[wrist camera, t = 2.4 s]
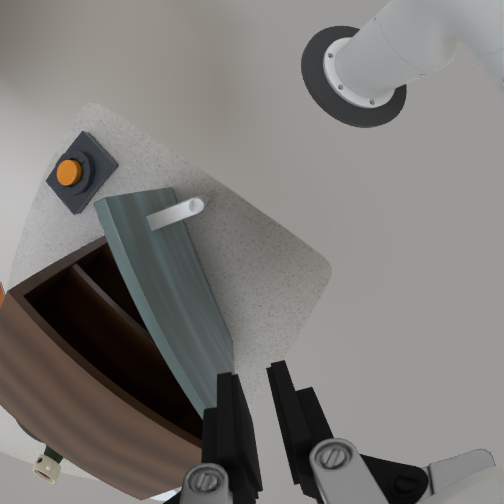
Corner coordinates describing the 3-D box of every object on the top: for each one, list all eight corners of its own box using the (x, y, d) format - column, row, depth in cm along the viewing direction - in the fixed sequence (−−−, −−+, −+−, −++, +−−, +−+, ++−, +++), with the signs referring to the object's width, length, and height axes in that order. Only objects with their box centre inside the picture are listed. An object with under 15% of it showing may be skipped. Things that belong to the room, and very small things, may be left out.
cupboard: (107, 234, 40) (7, 290, 17) (226, 344, 46) (232, 463, 23) (56, 304, 42) (-23, 380, 18) (162, 395, 48) (141, 500, 25)
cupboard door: (205, 174, 39) (179, 165, 16) (262, 331, 46) (292, 446, 23) (165, 189, 39) (93, 203, 16) (226, 342, 46) (232, 461, 23)
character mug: (50, 432, 50) (34, 464, 37) (72, 447, 52) (58, 480, 39) (44, 444, 51) (30, 473, 39) (64, 457, 53) (51, 487, 40)
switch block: (88, 132, 36) (77, 128, 32) (118, 164, 38) (108, 163, 34) (52, 180, 37) (39, 181, 33) (80, 213, 39) (68, 216, 35)
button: (72, 155, 33) (66, 154, 32) (86, 171, 34) (81, 171, 32) (58, 174, 34) (52, 174, 32) (72, 190, 34) (66, 190, 33)
